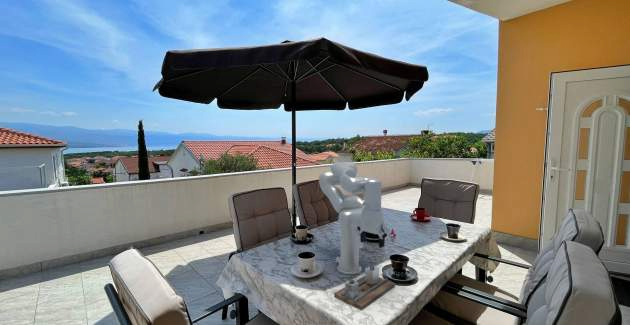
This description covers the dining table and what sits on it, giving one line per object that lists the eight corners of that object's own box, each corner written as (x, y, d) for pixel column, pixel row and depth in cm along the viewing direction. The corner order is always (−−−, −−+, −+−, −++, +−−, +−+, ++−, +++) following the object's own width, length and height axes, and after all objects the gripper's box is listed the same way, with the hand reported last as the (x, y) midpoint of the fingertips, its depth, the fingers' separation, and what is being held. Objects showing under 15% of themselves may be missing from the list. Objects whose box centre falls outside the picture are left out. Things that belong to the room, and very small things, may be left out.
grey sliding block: (365, 283, 125) (365, 267, 125) (371, 279, 129) (371, 263, 128) (372, 286, 122) (372, 269, 122) (378, 282, 126) (378, 266, 126)
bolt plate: (334, 296, 118) (334, 277, 118) (368, 276, 136) (369, 260, 136) (361, 310, 108) (361, 289, 108) (394, 286, 126) (395, 268, 126)
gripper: (351, 205, 127) (351, 241, 128) (385, 211, 115) (384, 251, 116) (361, 202, 133) (361, 237, 134) (394, 208, 120) (393, 247, 121)
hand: (372, 244), depth 125 cm, fingers open, 9 cm apart
